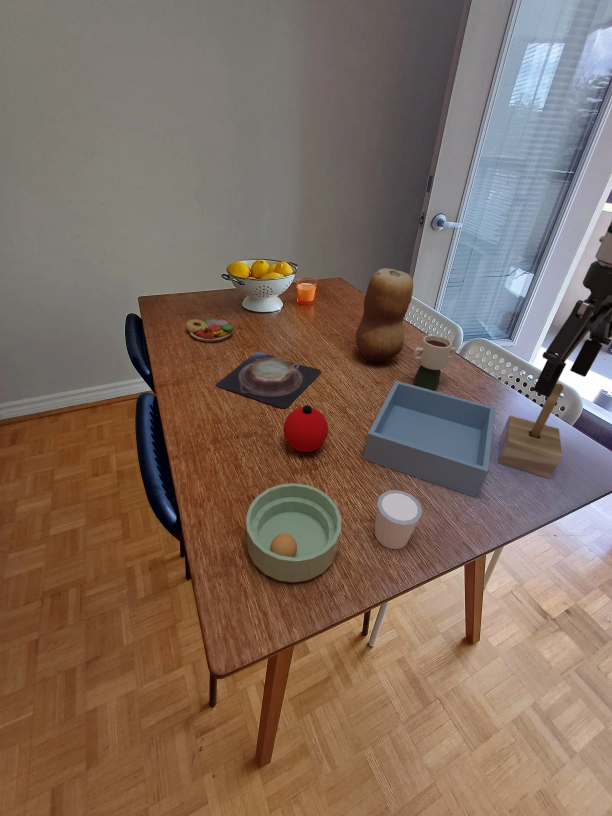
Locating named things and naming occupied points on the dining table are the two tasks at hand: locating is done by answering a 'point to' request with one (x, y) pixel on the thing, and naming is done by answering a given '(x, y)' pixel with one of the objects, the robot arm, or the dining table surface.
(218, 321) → the toy food set
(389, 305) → the butternut squash
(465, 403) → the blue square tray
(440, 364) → the character mug
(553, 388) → the robot arm
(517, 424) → the utensil block
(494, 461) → the dining table surface
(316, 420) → the ornament
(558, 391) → the stirring stick
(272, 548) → the dough ball
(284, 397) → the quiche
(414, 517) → the white cup
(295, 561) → the bowl
